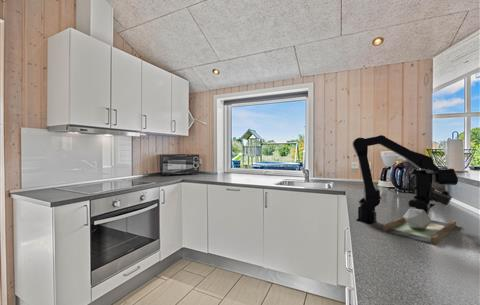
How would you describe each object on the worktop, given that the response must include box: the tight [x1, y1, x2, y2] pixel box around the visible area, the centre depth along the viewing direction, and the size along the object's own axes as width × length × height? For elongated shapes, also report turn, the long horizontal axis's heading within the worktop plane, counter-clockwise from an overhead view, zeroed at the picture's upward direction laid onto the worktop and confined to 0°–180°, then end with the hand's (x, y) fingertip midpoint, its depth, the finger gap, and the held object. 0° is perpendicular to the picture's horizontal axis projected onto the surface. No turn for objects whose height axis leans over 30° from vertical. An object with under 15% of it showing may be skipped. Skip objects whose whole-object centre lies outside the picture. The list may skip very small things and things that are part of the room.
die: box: [402, 207, 433, 230], centre depth 91 cm, size 8×9×10 cm
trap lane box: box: [383, 215, 457, 246], centre depth 92 cm, size 16×34×2 cm, turn 126°
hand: (424, 220), depth 93 cm, fingers closed
